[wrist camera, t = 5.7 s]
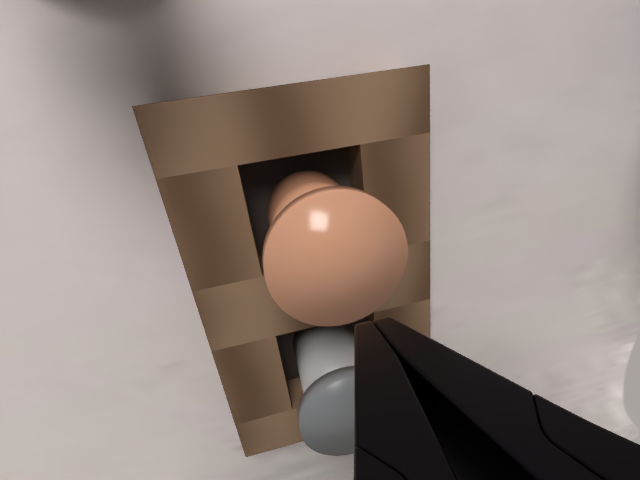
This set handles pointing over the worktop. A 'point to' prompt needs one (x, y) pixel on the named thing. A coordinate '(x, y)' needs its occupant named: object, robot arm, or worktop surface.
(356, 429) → the robot arm
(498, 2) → the worktop surface
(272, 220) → the plug terracotta
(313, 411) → the plug grey
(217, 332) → the socket board
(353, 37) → the worktop surface
